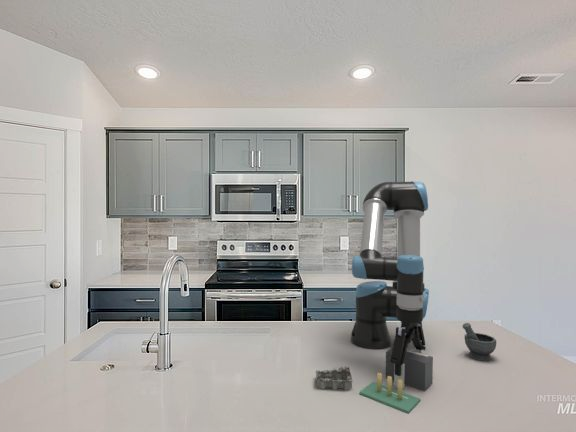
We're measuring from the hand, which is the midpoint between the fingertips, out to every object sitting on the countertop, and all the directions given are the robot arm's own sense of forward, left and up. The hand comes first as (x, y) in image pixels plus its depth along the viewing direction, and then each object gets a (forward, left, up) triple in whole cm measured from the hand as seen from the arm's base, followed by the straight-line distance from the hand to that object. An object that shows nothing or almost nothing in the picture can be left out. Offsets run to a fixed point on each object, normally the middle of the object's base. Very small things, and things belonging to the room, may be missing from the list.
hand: (408, 377), depth 105 cm
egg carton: (-16, -17, -1) cm, 23 cm away
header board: (0, -13, -1) cm, 13 cm away
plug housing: (0, 0, -1) cm, 1 cm away
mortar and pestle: (+11, +34, -1) cm, 36 cm away
